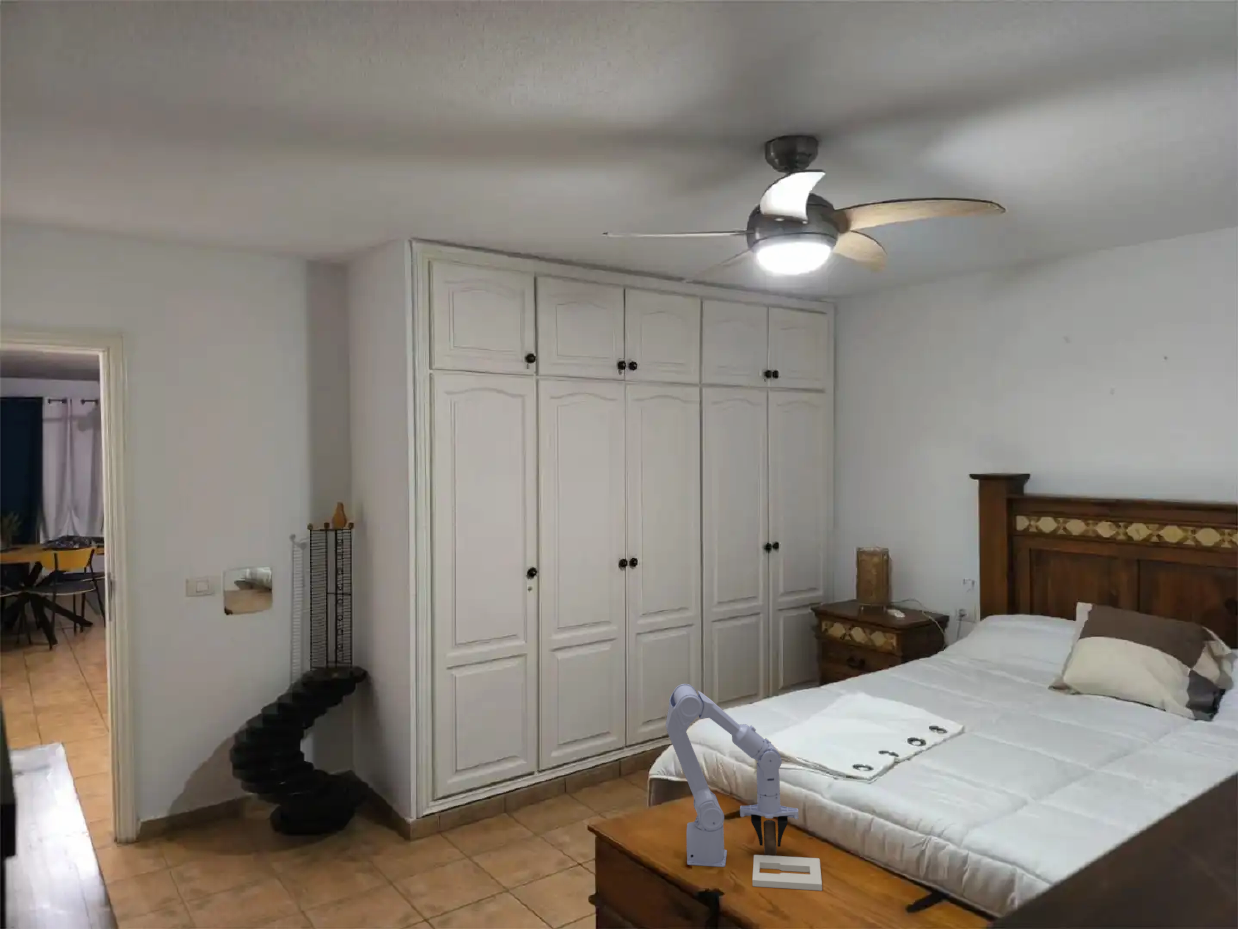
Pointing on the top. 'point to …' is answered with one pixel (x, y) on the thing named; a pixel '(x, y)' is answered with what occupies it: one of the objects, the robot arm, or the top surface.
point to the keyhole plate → (787, 879)
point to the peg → (770, 838)
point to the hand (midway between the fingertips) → (770, 844)
